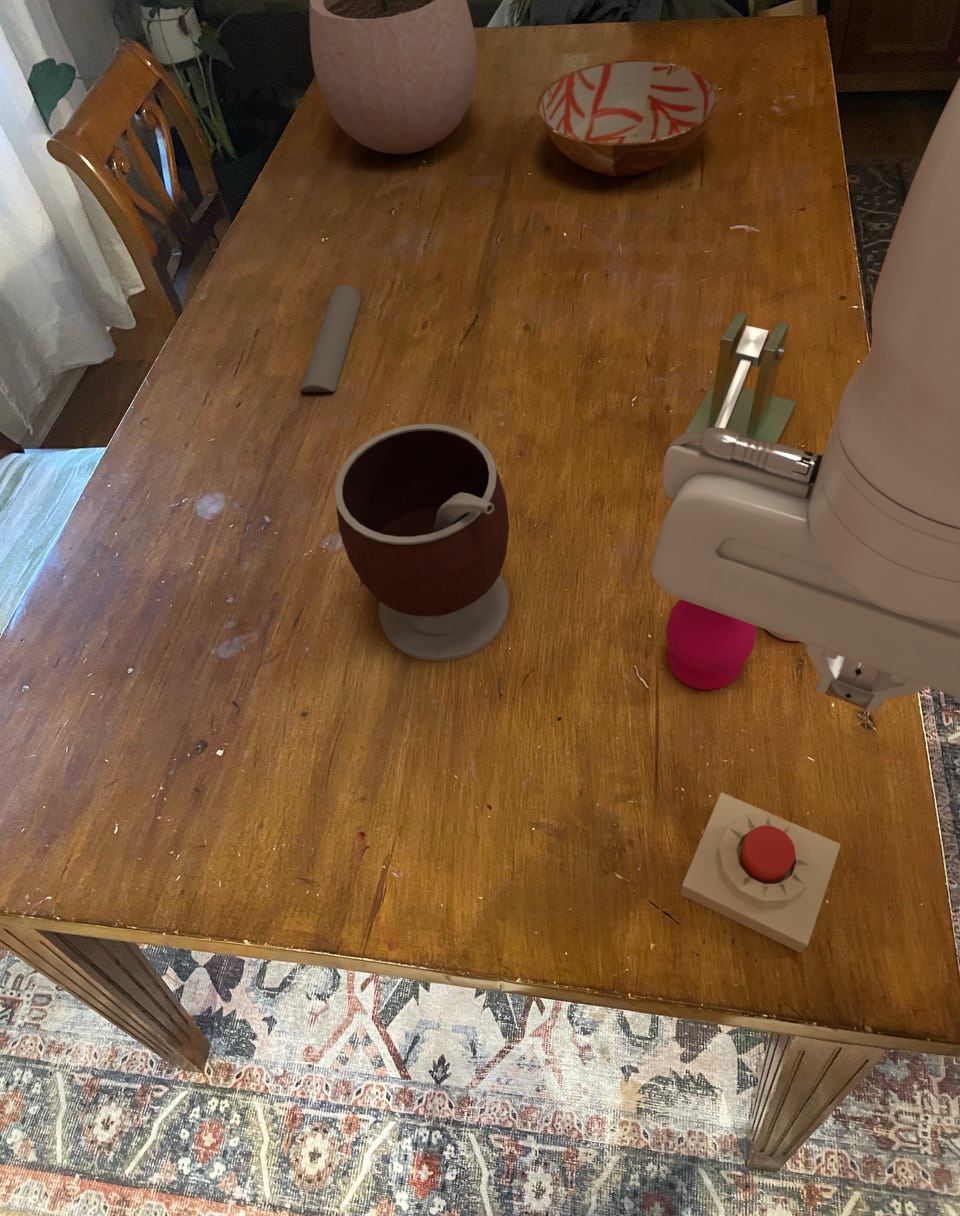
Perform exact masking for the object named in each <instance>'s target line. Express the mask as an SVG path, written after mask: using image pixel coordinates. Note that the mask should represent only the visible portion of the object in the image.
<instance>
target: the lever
mask: <svg viewBox="0 0 960 1216" xmlns="http://www.w3.org/2000/svg"><path fill="white" fill-rule="evenodd" d="M769 338H770V330H768V329H764V328H760V327H755V326H752V325H745V329H744V332H743V334H742V337H741V340H740V342H739V345H738V347H737V350H736V361H737V363H739V364H738V367H737V369H736V372H735V374H734V377H733V380H732V382H731V385H730V387H729V390H728V392H727V395H726V397H725V400H724V402H723V405H722V407H721V410H720V412H719V415H718V417H717V420H716V423H715V425H714V427H718V428H725V429H727V428H728V425H729V423H730V420H731V418H732V415H733V413H734V410H735V408H736V405H737V402H738V400H739V397H740V395H741V392H742V390H743V388H745V385H746V382H747V380H748V377H749V375H750V372H751V369H752V368H756V369H760V365H761V360H762V355H763V351H764V348H765V346H766V344H767V342H768V340H769Z"/></svg>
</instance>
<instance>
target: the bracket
mask: <svg viewBox="0 0 960 1216" xmlns="http://www.w3.org/2000/svg"><path fill="white" fill-rule="evenodd" d="M747 318H748V314H747V313H744V312H740V311H737V312H736V313H735V315H734V316H733V319H732V320H731V322H730V324H729V326H728V327H727V329H726V330H725V332H723V333H722V335H721V337H720V340H719V351H718V352H719V353H718V358H717V359H718V360H717V366H716V372H715V377H714V378H715V379H714V380H713V382H712V385H711V386H710V387H709V390H708V391H707V393H706V394H705V396H704V397H703V399H702V401H701V403H700V405H699V406H698V408H697V410H696V411H695V413H694V415H693V417H692V419H691V421H690V422H689V424H688V426H687V427H686V429H685V431H684V432H683V434H686V433H704V432H705V430H706V429H707V428H708V427H714V425H715V423H716V420H717V417H718V415H719V412H720V410H721V407H722V405H723V402H724V400H725V397H726V395H727V392H728V390H729V387H730V385H731V382H732V380H733V377H734V374H735V372H736V369H737V367H738V364H739V363H737V361H736V350H737V347H738V345H739V342H740V340H741V337H742V334H743V332H744V329H745V327H746V324H747ZM789 327H790V323H788V322H785V321H781V320H779V321H778V322H777V324H776V325H775V327H774V330H773V331H772V333H771V335H770V336H769V340H768V342H767V344H766V346H765V348H764V351H763V355H762V360H761V363H760V366H759V369H758V375H757V380H756V384H755V389H750V388H747V387H743V390H742V392H741V395H740V397H739V400H738V402H737V405H736V408H735V410H734V413H733V415H732V418H731V420H730V423H729V425H728V428H727V429H729V430H732V431H735V432H738V433H740V434H741V436H744V437H748V438H751V440H752V439H755V440H758V441H764V442H765V443H766V442H772V443H773V444H774V443H777V444H780V442H781V440H782V438H783V436H784V433H785V431H786V429H787V428H788V426H789V423H790V421H791V420H792V417H793V415H794V413H795V410H796V406H797V404H798V403H797V402H798V401H797V400H793V399H789V398H785V397H781V396H778V395H774V392H775V387H776V383H777V379H778V375H779V370H780V365H781V362H783V360H784V358H785V355H786V351H787V346H785V345H786V340H787V335H788V331H789Z"/></svg>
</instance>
